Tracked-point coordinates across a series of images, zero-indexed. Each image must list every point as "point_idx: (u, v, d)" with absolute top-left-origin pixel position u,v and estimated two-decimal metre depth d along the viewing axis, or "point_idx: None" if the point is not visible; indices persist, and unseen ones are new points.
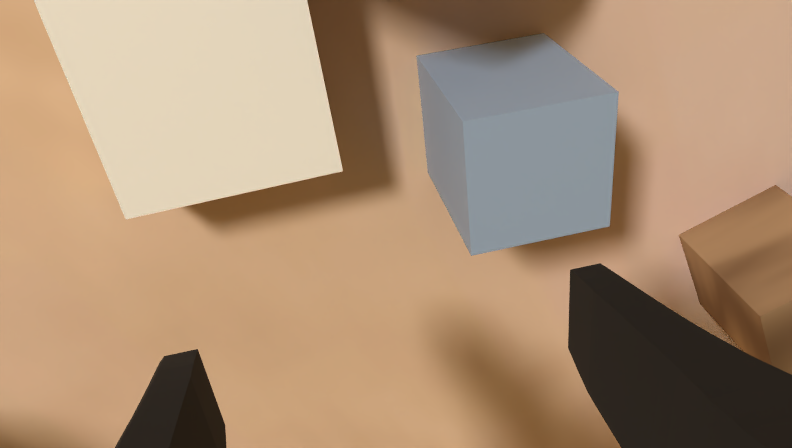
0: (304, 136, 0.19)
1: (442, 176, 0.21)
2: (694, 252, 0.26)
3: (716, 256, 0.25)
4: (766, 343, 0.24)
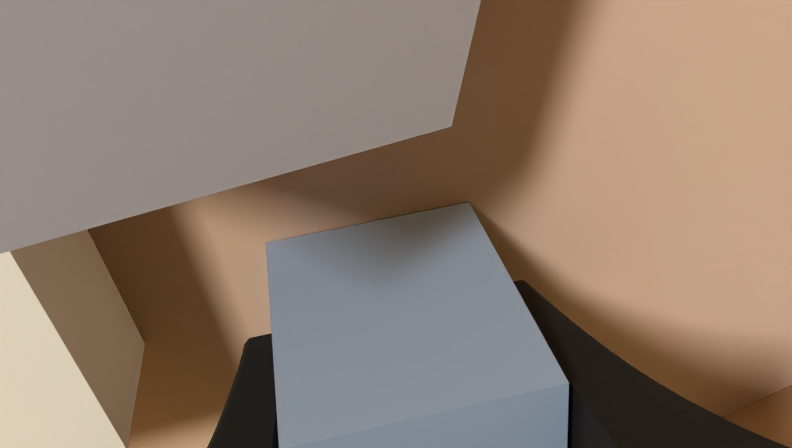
0: (46, 413, 0.11)
1: None
2: None
3: None
4: None
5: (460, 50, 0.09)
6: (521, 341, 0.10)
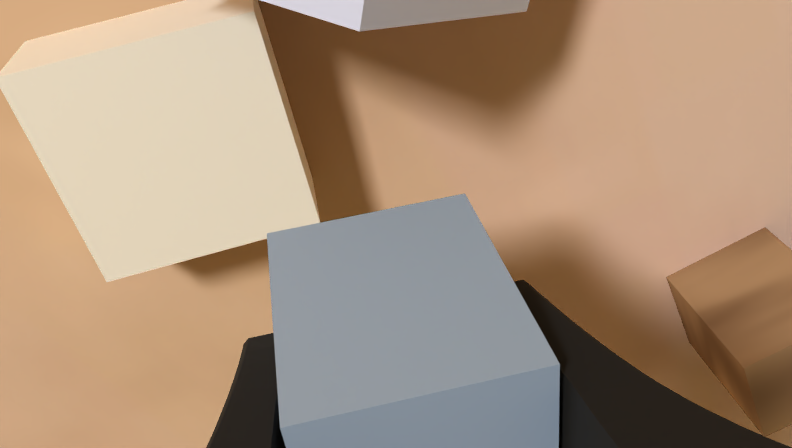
0: (279, 193, 0.19)
1: None
2: (681, 296, 0.26)
3: (703, 302, 0.25)
4: (751, 393, 0.23)
5: None
6: (514, 325, 0.11)
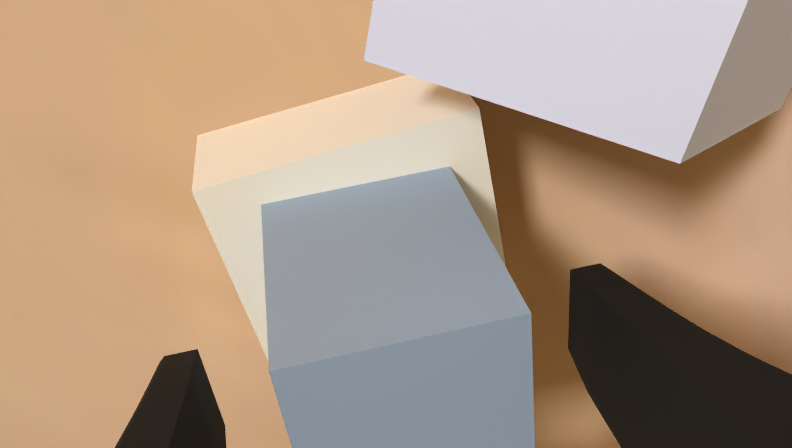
0: None
1: None
2: None
3: None
4: None
5: None
6: (490, 280, 0.12)
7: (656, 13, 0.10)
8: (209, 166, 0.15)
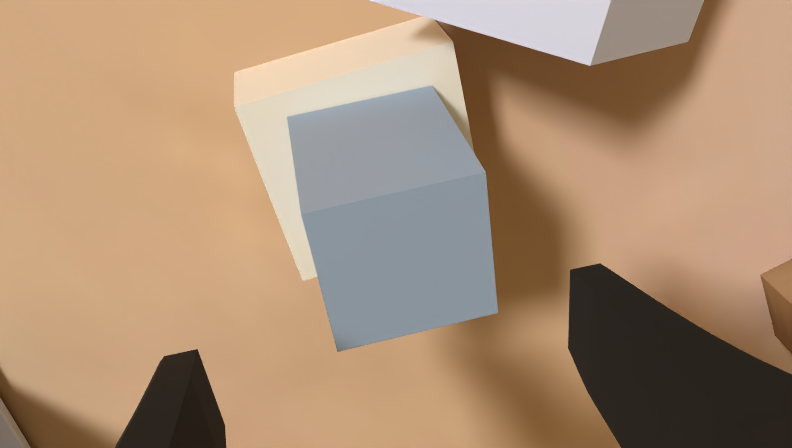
0: None
1: None
2: (776, 292, 0.28)
3: None
4: None
5: (700, 3, 0.19)
6: (458, 154, 0.16)
7: None
8: (246, 90, 0.19)
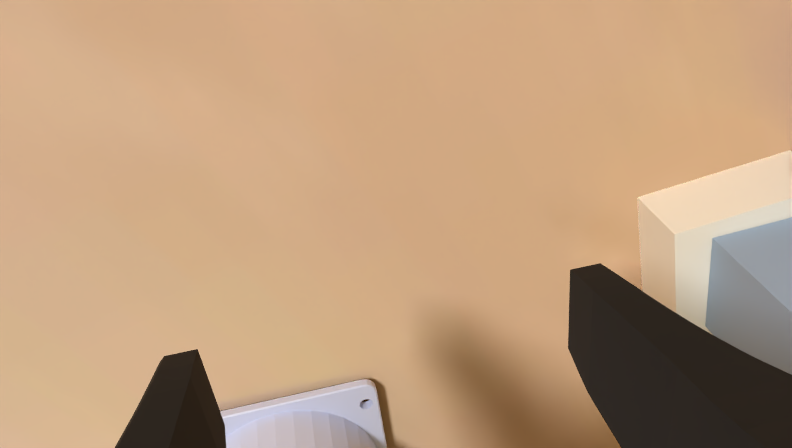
0: None
1: (743, 345, 0.24)
2: None
3: None
4: None
5: None
6: None
7: None
8: (670, 218, 0.25)
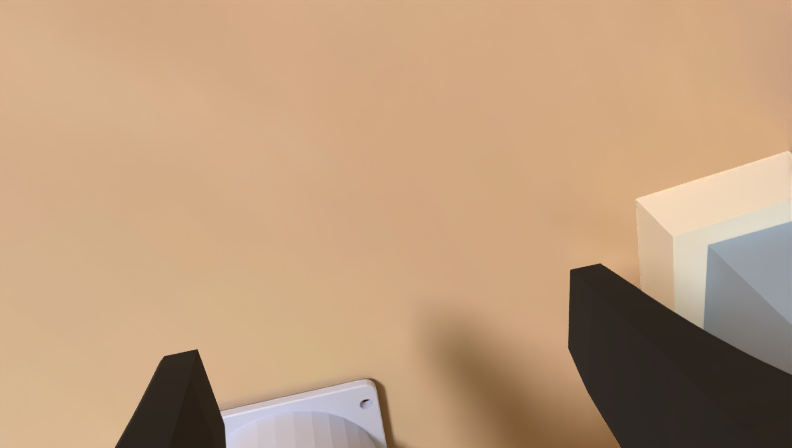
0: None
1: None
2: None
3: None
4: None
5: None
6: None
7: None
8: (668, 220, 0.25)
